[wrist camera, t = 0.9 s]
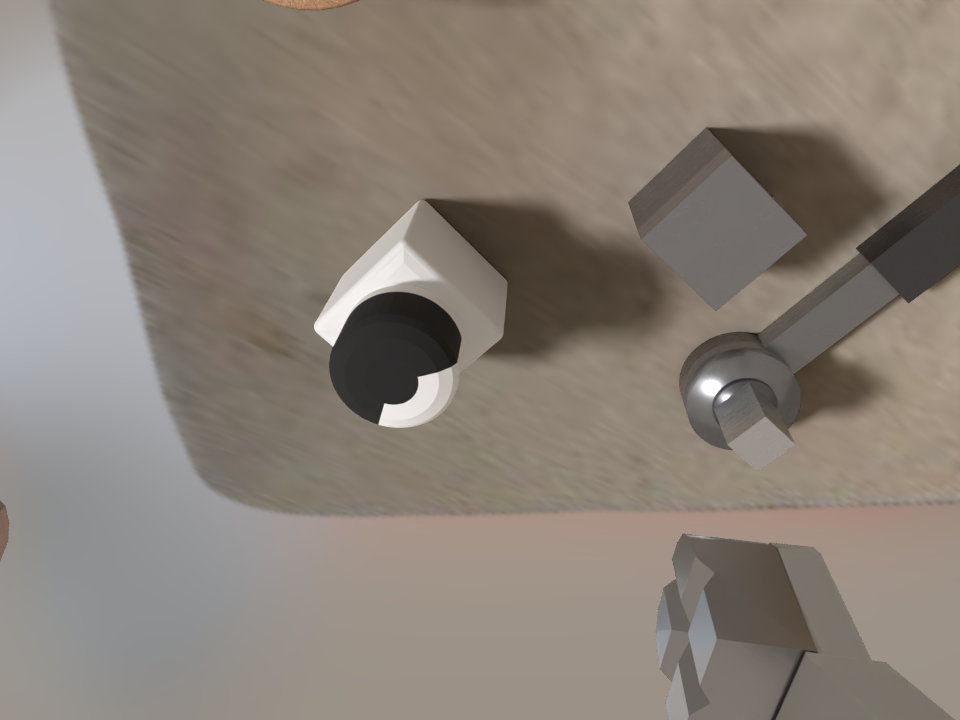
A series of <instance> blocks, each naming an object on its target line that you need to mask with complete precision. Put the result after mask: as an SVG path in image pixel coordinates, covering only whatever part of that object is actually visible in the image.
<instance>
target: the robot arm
mask: <svg viewBox="0 0 960 720" xmlns="http://www.w3.org/2000/svg"><path fill="white" fill-rule="evenodd" d="M8 532H9V520H8V515H7V511H6V506H5V505H4V504H3V503H2V502H1V501H0V560H1V558H2V555H3V553H4V550H5V548H6V545H7V543H8V534H9V533H8ZM672 561H673V566H674V570H675V576H676V579H675V580H673V581H672V582H671V583H669V584H668V585H667V586H665V587H664V588H663V592H662V596H661V600H660V604H659V607H658V615H657V627H656V643H657V655H658V661H659V667H660V670H661V671H662V672H663V673H664V674H665V675H666V676H667V678H668V679H669V680H671V682H672V683H671V687H670V690H669V693H668V696H667V699H666V709H667V714H668V720H955V719H954V718H952V717H951V716H950V715H949V714H947V713H946V712H945V711H944V710H943V709H941V708H940V707H939V706H938V705H937V704H935V703H934V702H933V701H932V700H930V699H929V698H928V697H927V696H926V695H924V694H923V693H922V692H921V691H920V690H918V689H917V688H916V687H915V686H914V685H912V684H911V683H910V682H909V681H908V680H906V679H905V678H904V677H903V676H902V675H900V674H899V673H898V672H897V671H896V670H894V669H893V668H892V667H891V666H889V665H888V664H887V663H886V662H879V661H873V660H871V658H870V656H869V654H868V652H867V650H866V648H865V645H864V643H863V641H862V639H861V637H860V635H859V633H858V631H857V628H856V626H855V624H854V622H853V620H852V618H851V616H850V614H849V612H848V610H847V608H846V605H845V603H844V601H843V599H842V597H841V595H840V593H839V591H838V589H837V587H836V585H835V582H834V580H833V578H832V576H831V574H830V572H829V570H828V568H827V566H826V564H825V562H824V559H823V557H822V555H821V553H820V552H818V551H817V550H816V549H815V548H814V547H808V546H798V545H788V544H777V543H769V544H766V543H758V542H750V541H742V540H733V539H724V538H716V537H708V536H699V535H691V534H682V536H681V538H680V539H679V541H678V542H677V545H676V548H675V552H674V555H673V558H672Z"/></svg>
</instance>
